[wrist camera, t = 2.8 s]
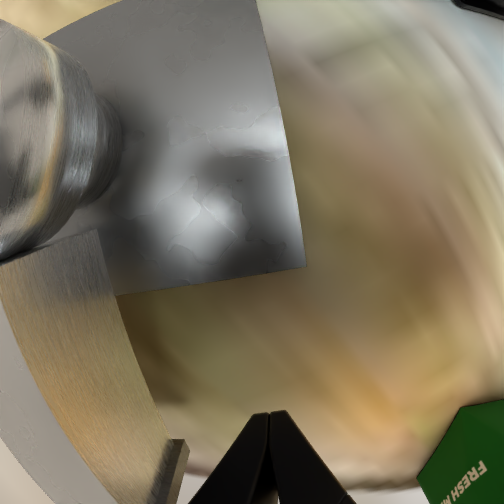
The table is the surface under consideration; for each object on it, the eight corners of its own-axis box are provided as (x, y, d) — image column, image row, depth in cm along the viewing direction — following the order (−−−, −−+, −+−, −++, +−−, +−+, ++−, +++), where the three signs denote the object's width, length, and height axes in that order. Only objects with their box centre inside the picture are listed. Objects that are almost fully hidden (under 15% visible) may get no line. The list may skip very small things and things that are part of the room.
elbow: (-12, 103, 8) (-105, 92, 3) (114, 33, 8) (22, -39, 3) (89, 443, 12) (47, 517, 7) (212, 450, 11) (193, 553, 6)
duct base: (247, -20, 9) (235, -127, 3) (303, 259, 12) (342, 346, 6) (-30, 102, 11) (-112, 95, 4) (0, 304, 13) (-77, 353, 7)
